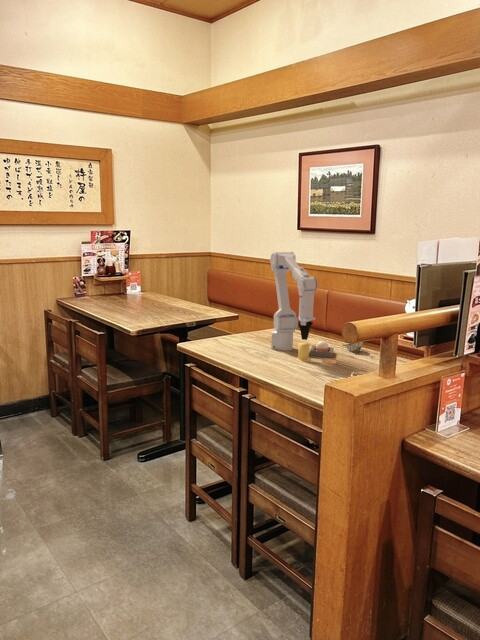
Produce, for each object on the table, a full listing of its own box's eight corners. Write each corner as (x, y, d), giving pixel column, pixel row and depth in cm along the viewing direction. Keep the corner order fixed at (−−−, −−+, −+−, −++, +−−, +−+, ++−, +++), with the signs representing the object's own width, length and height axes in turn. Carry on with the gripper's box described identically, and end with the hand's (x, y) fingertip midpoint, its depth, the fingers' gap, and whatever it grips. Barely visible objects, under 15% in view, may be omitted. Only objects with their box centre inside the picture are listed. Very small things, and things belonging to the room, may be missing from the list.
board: (295, 364, 204) (295, 361, 204) (302, 350, 225) (303, 348, 225) (337, 368, 200) (337, 365, 200) (341, 354, 221) (341, 352, 221)
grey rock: (356, 361, 224) (365, 347, 216) (339, 353, 225) (347, 339, 217) (360, 348, 230) (369, 334, 223) (343, 340, 231) (351, 326, 223)
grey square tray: (310, 356, 214) (310, 350, 213) (312, 350, 222) (312, 345, 222) (331, 358, 212) (331, 352, 211) (333, 352, 220) (333, 347, 220)
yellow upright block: (297, 360, 207) (297, 344, 205) (298, 357, 211) (299, 342, 210) (307, 361, 206) (308, 345, 204) (309, 358, 210) (310, 343, 208)
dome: (314, 353, 215) (315, 341, 214) (316, 350, 220) (316, 339, 219) (327, 354, 213) (328, 343, 212) (329, 351, 219) (329, 340, 218)
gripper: (314, 310, 196) (312, 344, 199) (318, 304, 210) (316, 336, 212) (296, 309, 198) (294, 342, 200) (301, 303, 212) (299, 334, 214)
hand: (304, 339), depth 207 cm, fingers closed
